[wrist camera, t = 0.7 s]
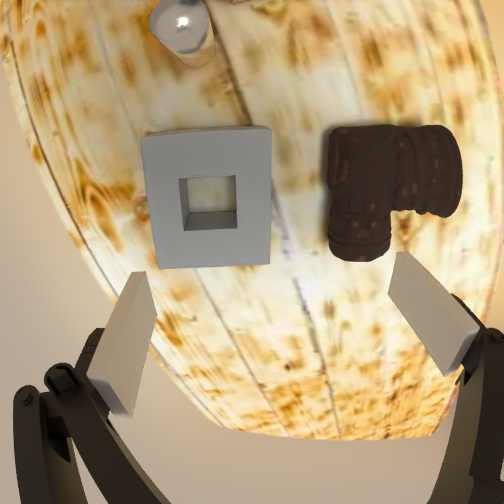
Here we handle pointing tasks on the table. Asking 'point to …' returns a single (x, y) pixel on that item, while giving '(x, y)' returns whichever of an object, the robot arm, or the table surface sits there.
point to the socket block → (209, 223)
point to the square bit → (237, 1)
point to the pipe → (387, 183)
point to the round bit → (184, 30)
